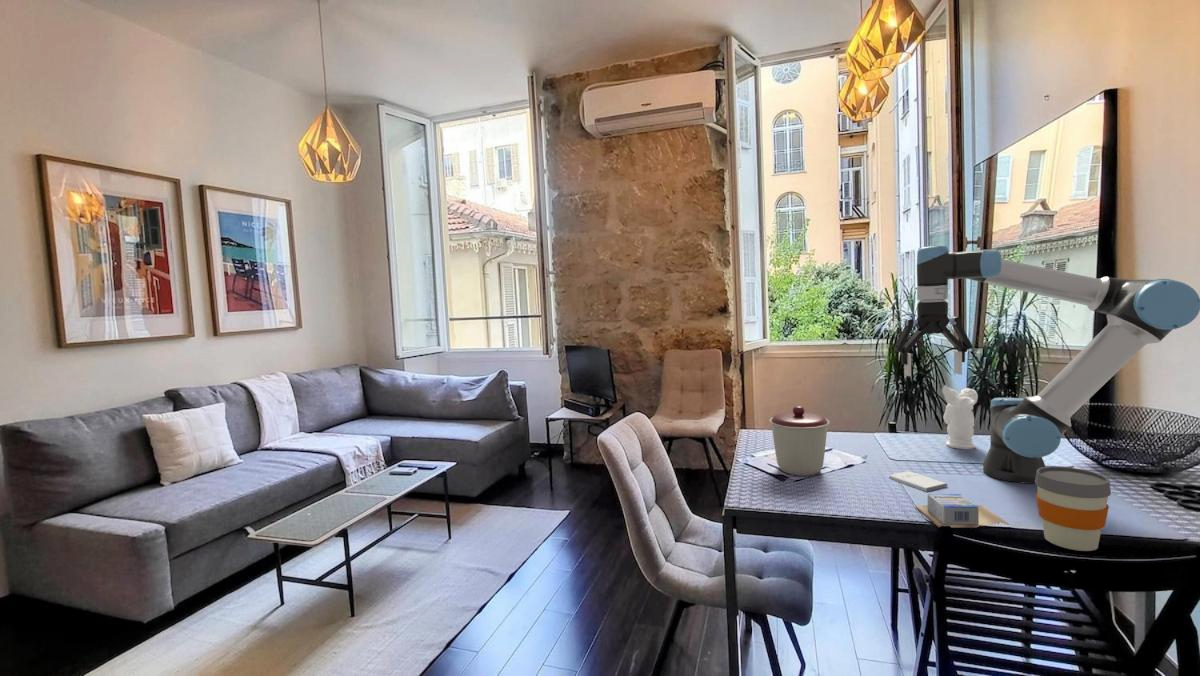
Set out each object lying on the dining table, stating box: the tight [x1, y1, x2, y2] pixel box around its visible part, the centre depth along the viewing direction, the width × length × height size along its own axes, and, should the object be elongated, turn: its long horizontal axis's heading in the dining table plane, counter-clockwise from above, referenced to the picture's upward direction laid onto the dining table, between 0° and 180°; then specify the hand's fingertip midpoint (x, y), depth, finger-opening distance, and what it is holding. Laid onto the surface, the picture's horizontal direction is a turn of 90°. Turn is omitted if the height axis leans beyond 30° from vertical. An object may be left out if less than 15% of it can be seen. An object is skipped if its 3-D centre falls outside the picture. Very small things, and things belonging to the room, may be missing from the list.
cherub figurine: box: [941, 384, 979, 450], centre depth 187 cm, size 12×12×22 cm
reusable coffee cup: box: [1034, 466, 1112, 552], centre depth 119 cm, size 13×13×15 cm
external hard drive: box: [888, 470, 948, 492], centre depth 158 cm, size 2×8×12 cm
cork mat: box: [915, 504, 1010, 529], centre depth 134 cm, size 16×12×1 cm
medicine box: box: [927, 493, 979, 525], centre depth 133 cm, size 8×4×9 cm
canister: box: [768, 405, 830, 477], centre depth 173 cm, size 18×18×21 cm
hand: (932, 374), depth 156 cm, fingers open, 13 cm apart
